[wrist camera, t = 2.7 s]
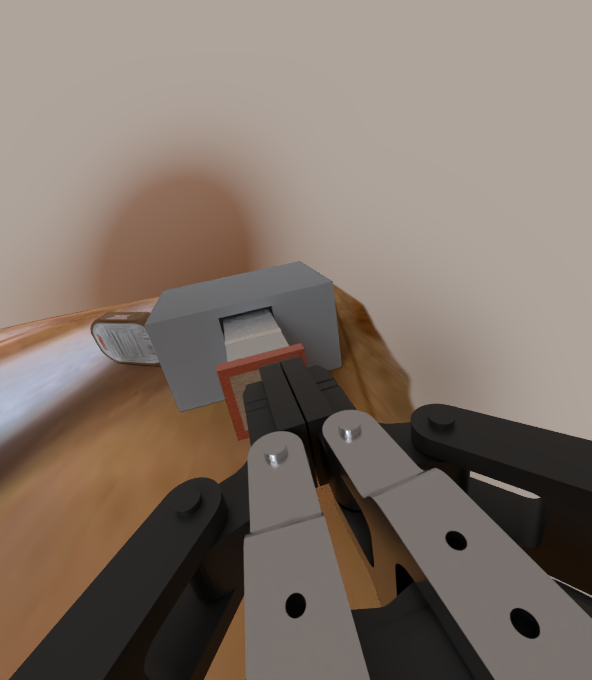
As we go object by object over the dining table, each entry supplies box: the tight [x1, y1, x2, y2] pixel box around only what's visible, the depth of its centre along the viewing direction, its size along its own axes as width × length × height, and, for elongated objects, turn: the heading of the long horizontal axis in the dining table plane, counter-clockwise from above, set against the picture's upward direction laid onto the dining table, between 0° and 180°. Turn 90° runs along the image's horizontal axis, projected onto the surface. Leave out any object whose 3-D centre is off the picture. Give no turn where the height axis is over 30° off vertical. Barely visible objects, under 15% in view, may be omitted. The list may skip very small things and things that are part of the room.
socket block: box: [144, 261, 342, 412], centre depth 41 cm, size 14×20×11 cm
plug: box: [216, 307, 307, 440], centre depth 30 cm, size 16×6×6 cm, turn 15°
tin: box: [91, 312, 160, 366], centre depth 48 cm, size 15×3×8 cm, turn 70°
